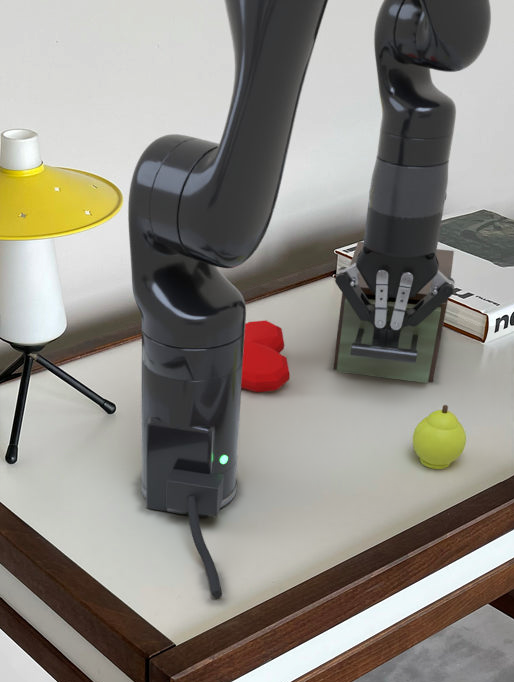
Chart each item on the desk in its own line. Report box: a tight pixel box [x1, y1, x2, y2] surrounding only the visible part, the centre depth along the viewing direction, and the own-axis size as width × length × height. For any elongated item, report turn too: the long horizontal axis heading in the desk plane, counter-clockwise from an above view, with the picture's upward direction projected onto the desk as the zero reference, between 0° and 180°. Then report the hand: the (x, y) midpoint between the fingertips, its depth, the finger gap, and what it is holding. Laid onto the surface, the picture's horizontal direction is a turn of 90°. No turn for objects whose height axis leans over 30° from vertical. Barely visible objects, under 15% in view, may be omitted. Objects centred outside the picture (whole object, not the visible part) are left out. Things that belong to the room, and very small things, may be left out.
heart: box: [241, 319, 291, 393], centre depth 119 cm, size 12×4×10 cm
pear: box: [412, 404, 467, 470], centre depth 102 cm, size 5×5×6 cm
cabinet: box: [332, 241, 455, 383], centre depth 122 cm, size 15×12×11 cm
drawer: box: [336, 294, 441, 384], centre depth 118 cm, size 19×10×9 cm, turn 163°
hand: (383, 355), depth 113 cm, fingers closed
